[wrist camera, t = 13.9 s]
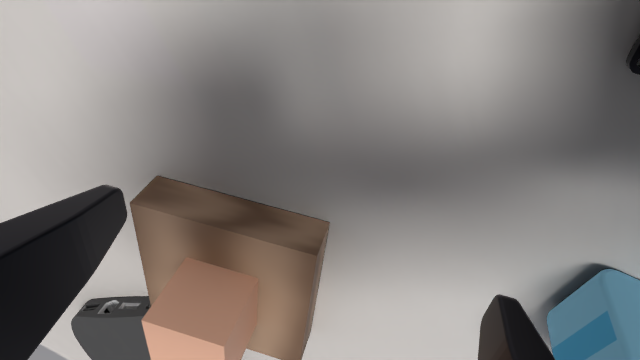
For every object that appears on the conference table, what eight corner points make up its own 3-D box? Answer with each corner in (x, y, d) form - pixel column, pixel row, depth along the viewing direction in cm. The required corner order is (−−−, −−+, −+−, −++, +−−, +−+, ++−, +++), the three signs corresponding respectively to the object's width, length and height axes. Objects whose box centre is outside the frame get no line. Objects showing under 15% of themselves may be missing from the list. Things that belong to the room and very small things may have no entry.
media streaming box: (150, 382, 49) (134, 408, 47) (72, 295, 42) (49, 320, 40) (258, 390, 43) (247, 420, 41) (189, 291, 36) (170, 320, 34)
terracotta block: (258, 278, 27) (224, 346, 23) (256, 324, 30) (226, 391, 26) (186, 257, 28) (141, 320, 24) (191, 304, 31) (152, 367, 27)
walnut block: (329, 222, 27) (317, 256, 25) (310, 331, 34) (299, 365, 32) (156, 175, 29) (129, 202, 26) (173, 289, 36) (153, 318, 33)
